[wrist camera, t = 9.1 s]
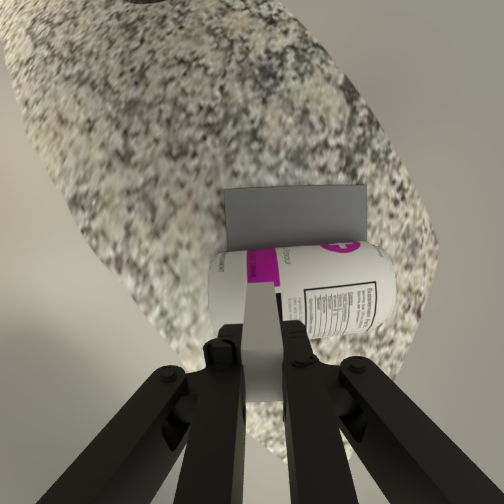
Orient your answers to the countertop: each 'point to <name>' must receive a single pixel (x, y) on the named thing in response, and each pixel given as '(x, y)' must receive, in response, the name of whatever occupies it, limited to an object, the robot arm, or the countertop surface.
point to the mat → (295, 216)
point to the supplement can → (308, 286)
